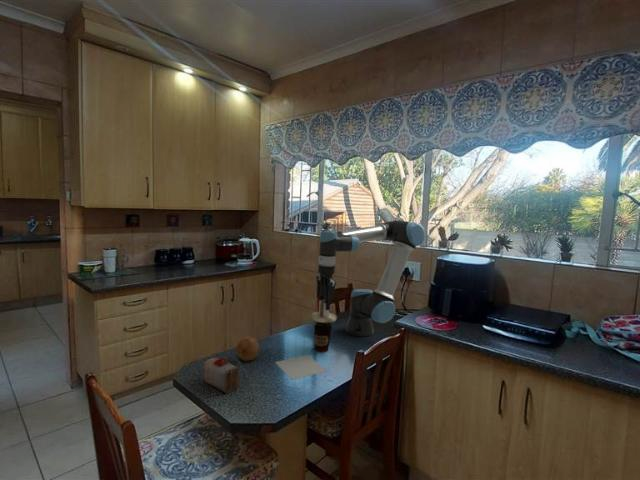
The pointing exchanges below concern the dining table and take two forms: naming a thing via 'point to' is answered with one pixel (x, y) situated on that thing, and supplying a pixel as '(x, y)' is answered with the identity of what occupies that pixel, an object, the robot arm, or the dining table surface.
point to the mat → (300, 367)
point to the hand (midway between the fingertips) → (323, 315)
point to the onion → (248, 348)
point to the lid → (319, 317)
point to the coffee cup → (322, 336)
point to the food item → (221, 374)
